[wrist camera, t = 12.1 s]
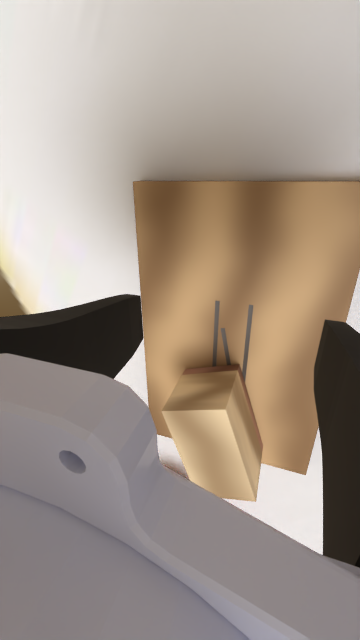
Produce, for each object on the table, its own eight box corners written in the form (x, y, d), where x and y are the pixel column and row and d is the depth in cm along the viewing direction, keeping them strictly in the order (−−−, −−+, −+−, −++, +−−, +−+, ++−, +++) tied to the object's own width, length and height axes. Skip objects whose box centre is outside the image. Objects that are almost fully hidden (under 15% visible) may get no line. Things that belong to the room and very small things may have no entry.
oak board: (377, 181, 16) (382, 182, 15) (305, 463, 26) (305, 475, 25) (141, 181, 20) (132, 181, 19) (155, 423, 30) (150, 432, 29)
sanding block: (239, 364, 22) (225, 409, 18) (263, 445, 25) (255, 501, 21) (185, 369, 24) (161, 411, 20) (212, 444, 27) (196, 495, 23)
